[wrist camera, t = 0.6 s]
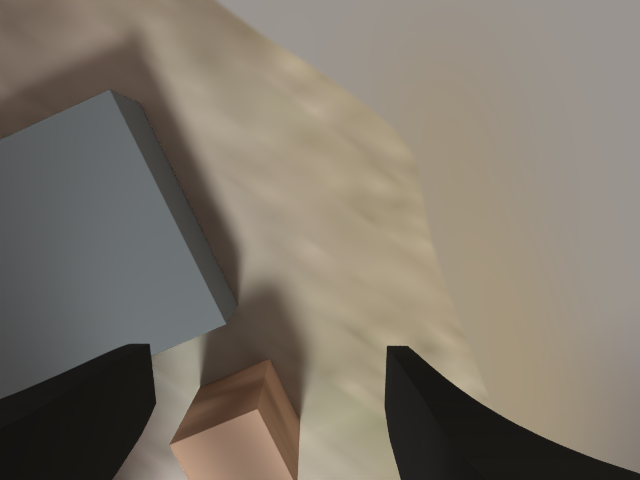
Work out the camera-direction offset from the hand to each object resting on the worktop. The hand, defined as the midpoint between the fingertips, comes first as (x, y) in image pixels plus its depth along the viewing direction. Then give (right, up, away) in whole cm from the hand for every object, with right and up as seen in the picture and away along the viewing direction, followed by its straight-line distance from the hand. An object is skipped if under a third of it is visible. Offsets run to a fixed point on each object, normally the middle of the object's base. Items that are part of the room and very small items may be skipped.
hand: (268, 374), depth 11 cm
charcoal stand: (-11, +3, +10) cm, 15 cm away
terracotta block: (-3, -6, +11) cm, 13 cm away
